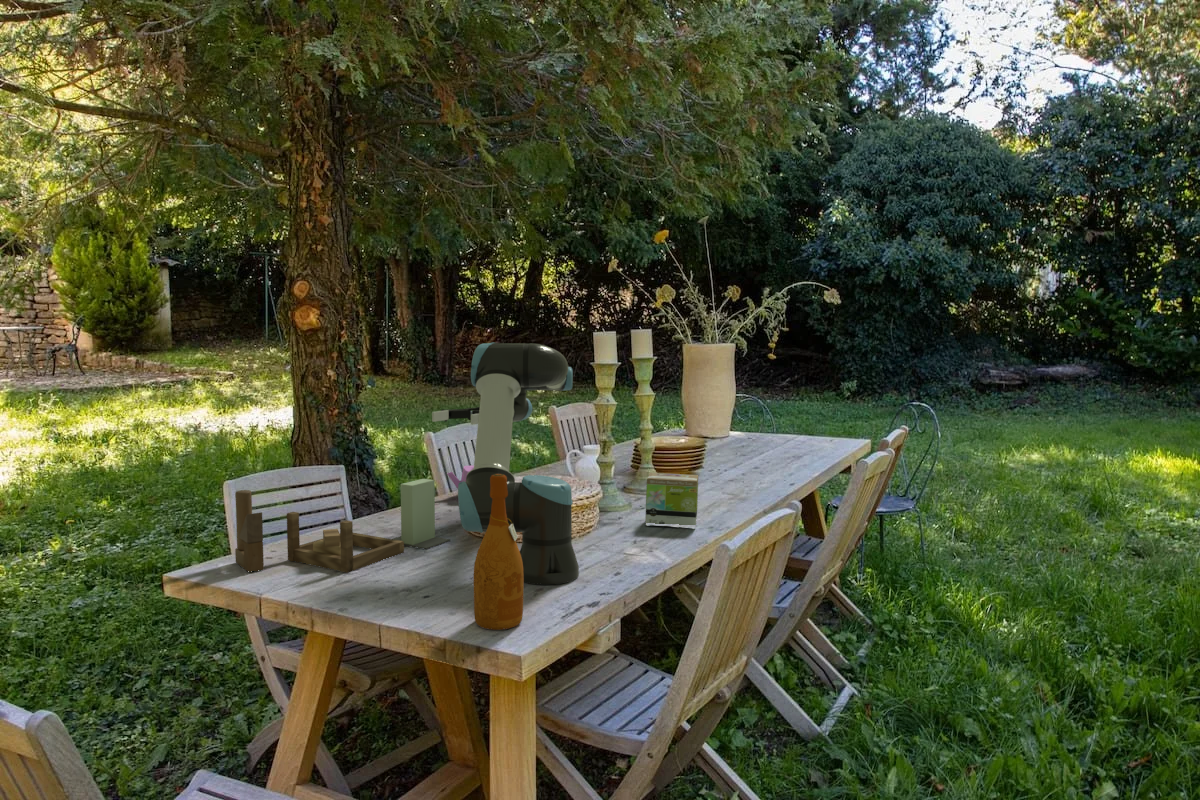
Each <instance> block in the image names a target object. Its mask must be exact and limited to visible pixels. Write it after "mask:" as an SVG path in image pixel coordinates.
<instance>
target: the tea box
mask: <svg viewBox="0 0 1200 800" xmlns="http://www.w3.org/2000/svg"><path fill="white" fill-rule="evenodd" d="M645 493H646V494H645V523H655V524H679V525H697V521H696V519H697V520H698V497H699V494H698V493H699V475H698V474H685V473H684V474H682V473H681V474H680V473H663V472H662V473H661V472H649V475H648V476H647V478H646V491H645Z"/></svg>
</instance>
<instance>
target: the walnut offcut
mask: <svg viewBox="0 0 1200 800" xmlns="http://www.w3.org/2000/svg"><path fill="white" fill-rule="evenodd" d="M322 536H323V537H322V539H323V541H324V545H325V547H332V546H340V530H339V529H338V528H332V529H330V528H329V529H322Z"/></svg>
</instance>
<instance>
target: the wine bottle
mask: <svg viewBox="0 0 1200 800" xmlns="http://www.w3.org/2000/svg"><path fill="white" fill-rule="evenodd" d="M507 496H508V491H507V477H506V476H505V475H504V474H494V475H492V476H491V477H490V497H491V498H492V507H491V515H490V522H489V525H488V528H487V530H486V532H484V535H483V538H482V540H481V542H480V544H479V547H478V550H477V553H476V556H475V560H474V565H473V611H474V612H473V613H474V614H473V616H474V621H475V623H476V624H477V626H479V627H481V628H483V629H486V630H491V631H503V630H508V629H512V628H515V627H516V626H518V625H520V623H521V622H522V620H523V614H524V584H525V582H524V574H523V562H522V558H521V554H520V549H519V546H518V543H517V541H516V540H517V539H518V537H519V536H518V534H517V532H516V531H515V528H514V525H513V524H511V525H509V524H508V520H507V519H508V518H507V515H506V506H505V498H506V497H507ZM511 523H512V522H511Z"/></svg>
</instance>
